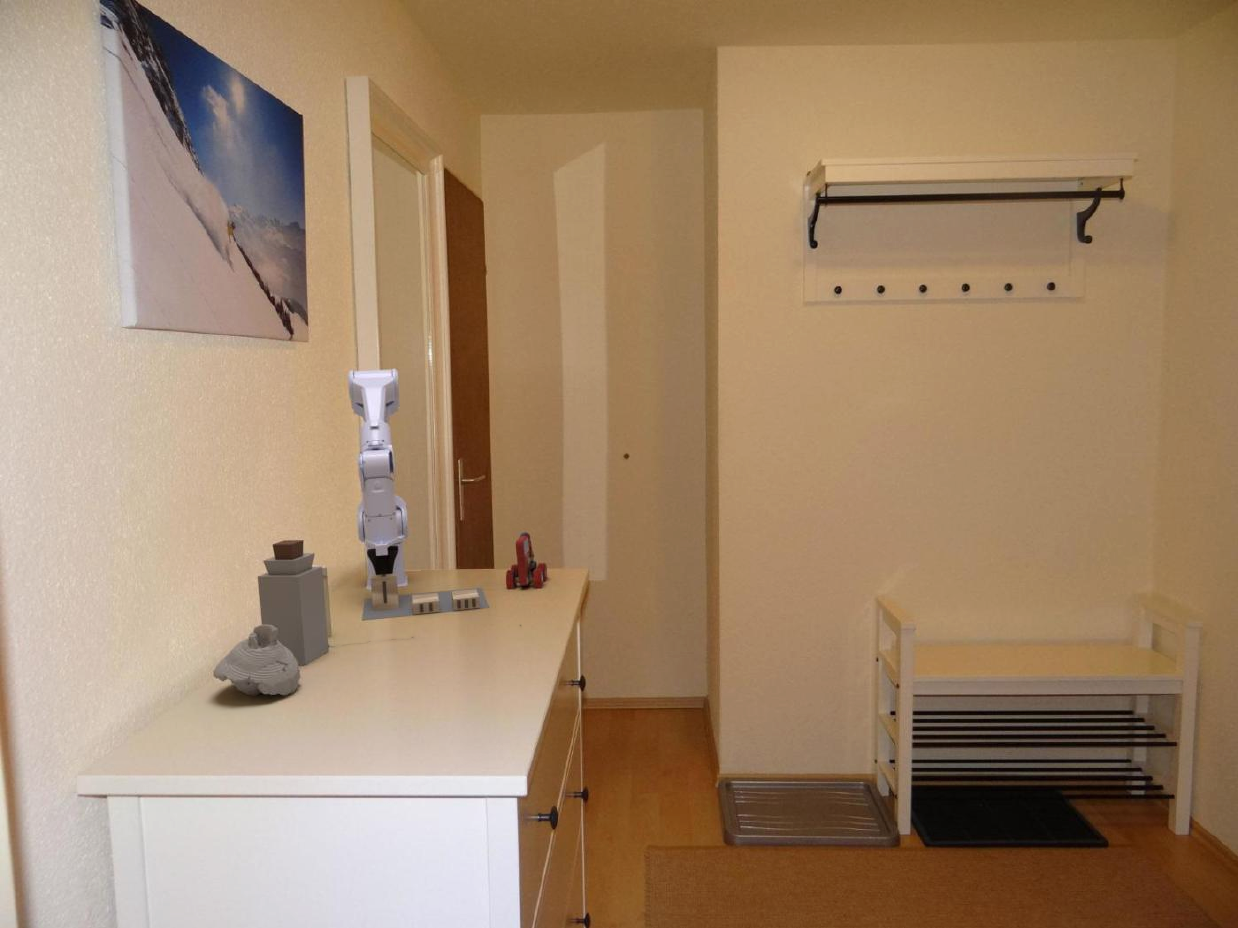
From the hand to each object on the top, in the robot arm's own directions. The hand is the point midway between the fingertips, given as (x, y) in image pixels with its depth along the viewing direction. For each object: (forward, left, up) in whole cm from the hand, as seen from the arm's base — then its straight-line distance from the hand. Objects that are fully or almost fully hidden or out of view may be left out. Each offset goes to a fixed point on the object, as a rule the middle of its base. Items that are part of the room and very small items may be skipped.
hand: (385, 586), depth 171 cm
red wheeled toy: (-4, +27, -4) cm, 28 cm away
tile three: (+6, +14, -2) cm, 15 cm away
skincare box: (+20, -12, -4) cm, 24 cm away
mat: (+4, +7, -3) cm, 9 cm away
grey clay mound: (+42, -16, -4) cm, 45 cm away
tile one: (+5, 0, -3) cm, 6 cm away
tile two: (+6, +7, -2) cm, 9 cm away
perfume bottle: (+28, -13, -4) cm, 31 cm away
